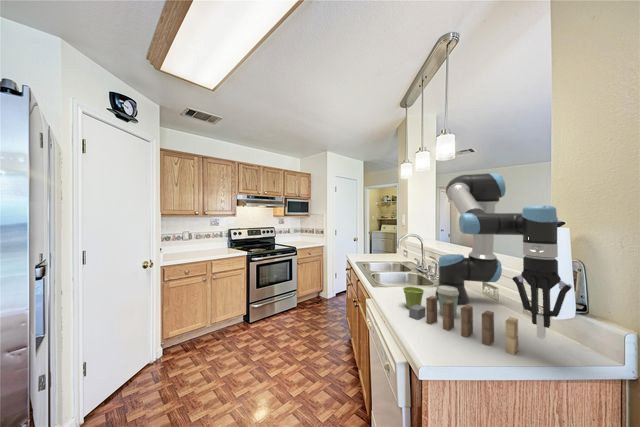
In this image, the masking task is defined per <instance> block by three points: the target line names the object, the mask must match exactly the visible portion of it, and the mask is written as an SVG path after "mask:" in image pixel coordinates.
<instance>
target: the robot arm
mask: <svg viewBox="0 0 640 427" xmlns="http://www.w3.org/2000/svg"><path fill="white" fill-rule="evenodd" d="M506 187H507V186H506V183H505V179H504V178H503V176H502V175H501V174H499V173H492V172H491V173H490V172H489V173H475V174H473V173H472V174H461V175H458V176H456V177H454V178H452V179H451V180H450V181H449V182H448V183H447V185H446V187H445V194H446V197H447V198H448V199H449V201H452V202H453V204H454V206H455V208H456V209H457V211H458V213H459V218H458V228H459V230H460V233H462V234H465V235H472V251H470V252H469V253H468V257H465V255H464V254H460V253H459V254H458V253H454V254H453V253H452V254H444V255H440V257H439V258H438V285H437V288H436V290H435V297H437V301H439V298H438V292H437V289H438V287H439V286H451V287H455V288H457V289H458V292H459V295H458V302H457V306H458V305H459V306H460V305H461V306H463V305H468V304H469V301H470V300H469V296H468V292H467V290H466V287H465V282H480V283H497V282H498V281H499V280H500V279H501V276H502V274H503V272H502V271H503V267H502V263H501V261H500V260H499V259H498V257H497V255H496V254H495V253H494V240H495V239H494V237H495V235H498V236H502V235H503V236H522V254H523V255H524V257H522V258H523V259H522V260H523V264H522V265H523V266H522V268H523V270H522V272H521V274H519V275H516V276H513V277H512V281H513V282H514V283H515V285H516V287H517V290H518V293H519V297H520V300H521V304H522V307H523V309H524V310H526V311H529V312H530V313H531V323H532V325H536V337H537V338H539V339H543V340H544V339H546V337H547V335H546V332H547V331H546V329H549V328H550V327H551V317H554V318H556V317H558V316H559V315H560V312H561V310H562V306H563V305H564V301H565V297H566V296H567V293H568V292H569V291H570V290H572V288H573V285H572V284H570V283H566V282H564V281H563V280H562V278H561V277H560V275H559V261H558V259H556V258H558V256H559V250H558V248H559V247H558V246H559V244H558V219H559V218H558V216H557V208H556V206H553V205H531V206H529V205H528V206H523V208H522V212H514V213H513V212H508V213H507V212H504V213H503V212H502V213H501V212H500V213H498V212H497V213H496V205H497V204H498V203H499V202H500V199H501V198H503V197H504V196H505V194H506ZM528 237H529V240H528ZM524 280H525V282H526V283H527V284H528V285H529V286H530V299H531V300H530V299H529V296H528V294H527V290H526V288H525V283H524ZM556 285H558V289H559V292H558V295H557V297H556V300H555V304H554V306H553V310H551V289H553V288H554V287H555V286H556ZM539 289H541V291H542V312H539ZM529 300H530V301H531V302H530V301H529Z"/></svg>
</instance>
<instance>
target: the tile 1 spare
mask: <svg viewBox="0 0 640 427" xmlns="http://www.w3.org/2000/svg"><path fill="white" fill-rule="evenodd" d="M504 322H505V353H506V354H509V355H510V356H511V355H512V356H515V355H516V354H517V352H518V351H519V319H518V318H516V317H512V316H509V317H508V318H507V319H506V320H505V321H504Z"/></svg>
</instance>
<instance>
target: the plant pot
mask: <svg viewBox="0 0 640 427" xmlns="http://www.w3.org/2000/svg"><path fill="white" fill-rule="evenodd" d="M402 290H403V293H404V296H405V302H406V304H405V305H406V307H407V308H408V309H409V307H412V306H414V305H420V306H422V301H423V300H422V299H423V295H424V293H425V290H424V289H423V288H421V287H416V286H405V287H403V288H402Z"/></svg>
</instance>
